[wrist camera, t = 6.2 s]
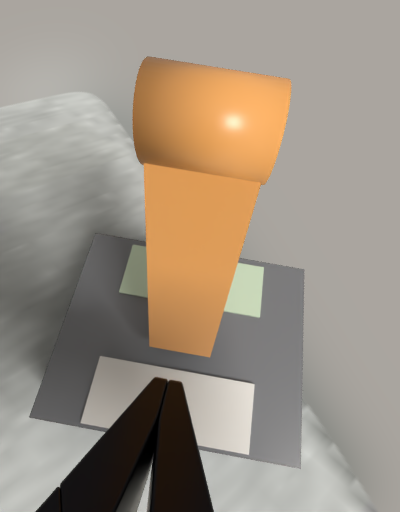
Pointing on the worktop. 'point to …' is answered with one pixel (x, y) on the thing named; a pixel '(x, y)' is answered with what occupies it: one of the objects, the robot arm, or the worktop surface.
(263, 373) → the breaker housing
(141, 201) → the worktop surface
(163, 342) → the lever
